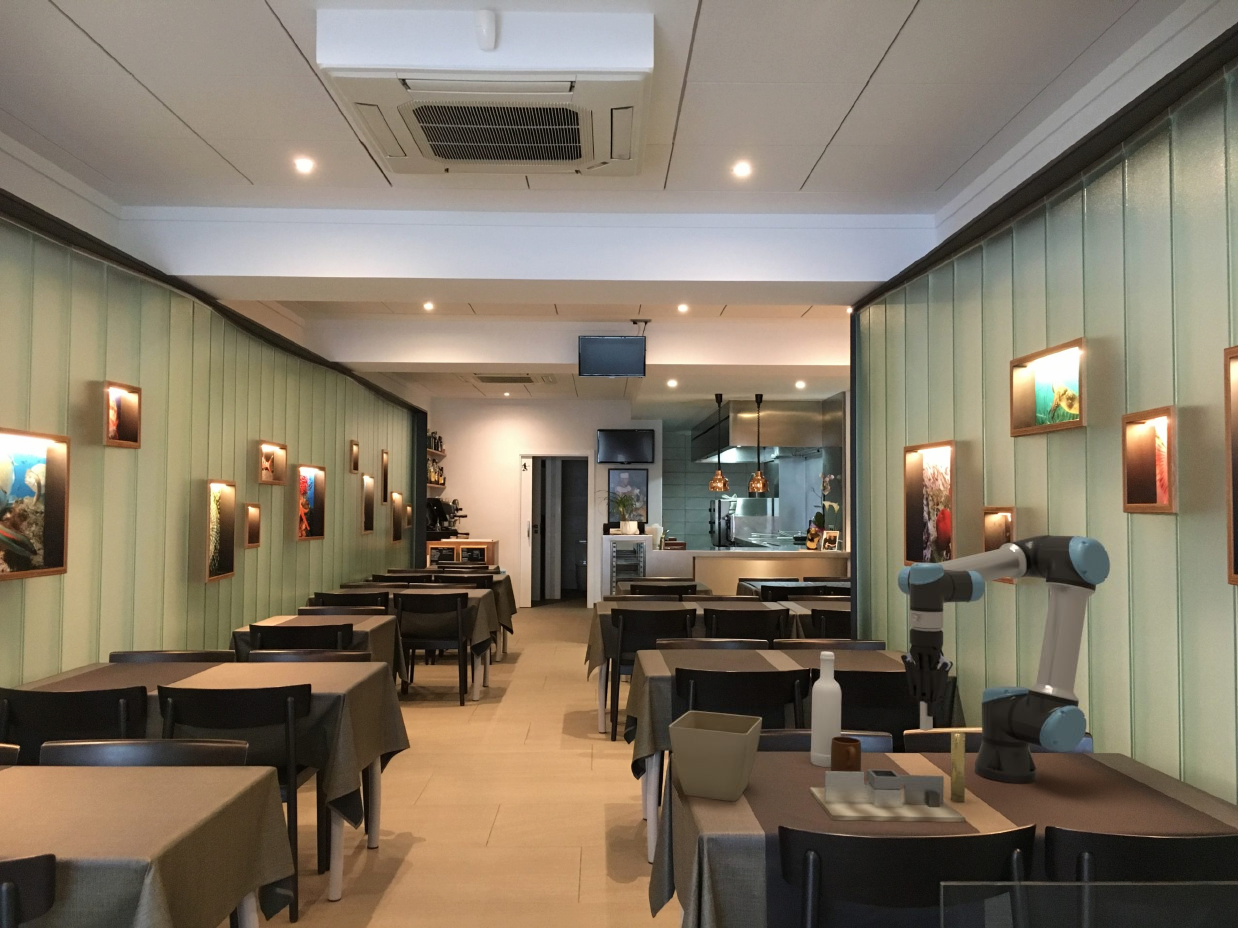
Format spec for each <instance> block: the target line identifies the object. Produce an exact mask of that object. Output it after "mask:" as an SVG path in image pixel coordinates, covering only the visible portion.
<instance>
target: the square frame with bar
mask: <svg viewBox="0 0 1238 928" xmlns="http://www.w3.org/2000/svg"><path fill="white" fill-rule="evenodd" d="M944 778H945V777H944V775H927V774H926V775H920V774H919V775H917V774H915V775H914V774H898V773H897V772H896V771H895V770H894V769H870V768H868V769H866V782H867V781H868V782H869V783H870V784H871V785H872V786H873V787H874V788H886V789H902V786H903V789H904V803H924V804H927V792H937V793H939V794H940V798H939V804H944V800H945V799H944V798H945V797H944V795H945V794H944V789H945V788H944V787H945V786H944V784H945V779H944Z"/></svg>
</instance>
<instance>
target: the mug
mask: <svg viewBox="0 0 1238 928" xmlns="http://www.w3.org/2000/svg"><path fill="white" fill-rule="evenodd" d="M830 771H846V772H862V742H861V740H860V739H858V738H855V737H851V736H841V737H834V738H832V743H831V767H830Z"/></svg>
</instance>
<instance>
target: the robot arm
mask: <svg viewBox="0 0 1238 928" xmlns="http://www.w3.org/2000/svg"><path fill="white" fill-rule="evenodd" d="M1105 548H1106V547H1104V545H1103V544H1102V543H1101V542H1100V541H1098V539H1095V538H1092V537H1086V536H1085V537H1084V536H1081V535H1080V536H1079V535H1075V536H1074V535H1073V536H1072V535H1051V534H1045V535H1043V534H1042V535H1036V536H1032V537H1027V538H1022V539H1019V540H1015V541H1011V542H1007V543H1004V544H1001V546H1000V547H999V549H994V550H990V551H985V552H980V553H976V554H972V555H968V556H962V557H959V558H954V559H949V560H945V561H940V562H936V563H934V562H914V563H912V564H911V566H910V565H907V566H904V567H902V569H901V570H900V571H899V573H898V575H897V585H898V588H899V589H900V591H901V592H902V593H903V594H905V595H909V626H910V627H911V628H910V629H909V644H910V648H909V652H908V653H906V654H902V655H901V656H900V659H901V661H902V663H903V665H904V671H905V675H906V680H907V685H908V691H909V695H910V697H913V698H914V699H916V701H917V714H918V715H919V730H920V731H925V732H927V731H928V732H929V731H932V730H933V724H934V723H933V722H934V721H933V718H934V717H935V716H936V703H937V702H940V701H943V700H944V696H945V691H946V688H947V683H948V677H949V672H950V670H951V669H952V667H953V666H954V663H953V661H948V659H946V658H945V657H944V656H945V655H944V651H943V646H944V631H943V630H942V629H943V628H944V604H946V603H970V602H976V601H977V602H978V600H979V601H980V599H982V597H983V596H984V594H985V588H986V586H985V583H986V582H987V583H988V582H990V581H994V580H1000V579H1002V578H1010V579H1014V580H1015V579H1020V578H1039V579H1045V582H1044V583H1045V585H1046V587H1047V588H1048V589H1049V591H1050V594H1049V599H1048V606H1047V612H1046V619H1045V626H1044V632H1043V638H1042V643H1041V644H1042V645H1041V651H1040V657H1039V663H1038V664H1039V665H1038V670H1037V676H1036V681H1035V682H1036V683H1035V684H1034V685H1031V686H1030V687H1029V688H1028V687H1024V686H990V687H986V688H985V689H984V690H983V692H982V699H981V700H982V701H981V744H980V748H979V749H978V752H977V756H976V758H975V762H974V772H975V774H977V775H978V776H980V777H983V778H986V779H989V780H993V781H996V782H997V781H998V782H1001V783H1003V782H1004V783H1012V784H1013V783H1015V784H1025V783H1026V784H1027V783H1029V784H1030V783H1033V782H1036V781H1037V774H1038V773H1037V772H1038V771H1037V767H1036V764H1035V761H1034V758H1033V756H1032V752H1031V748H1030V744H1031V745H1035V746H1039V747H1042V748H1044V749H1047V750H1050V751H1056V752H1061V753H1063V752H1069V751H1071V750H1074V749H1075V748H1076V746H1079V745H1080V743H1081V742H1082V740H1083V739H1084V737H1085V734H1086V731H1087V719H1086V717H1085V716H1086V715H1085V713H1084V712H1083V710H1082V709H1080V707H1079V703H1080V700H1079V699H1080V698H1079V697H1077V695H1076V693H1075V692H1074V691H1075V690H1074V689H1075V682H1076V675H1077V670H1078V663H1079V659H1080V658H1079V656H1080V650H1081V644H1082V636H1083V629H1084V623H1085V617H1086V610H1087V602H1088V599H1089V597H1091V596H1092V595H1094V594H1096V588H1097V585H1100V584H1102V583H1104V582H1105V581H1106V579H1108V576H1109V574H1110V570H1111V569H1110V568H1111V562H1110V557H1109V554H1108V552H1107V550H1106V549H1105Z"/></svg>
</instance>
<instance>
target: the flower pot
mask: <svg viewBox="0 0 1238 928" xmlns="http://www.w3.org/2000/svg"><path fill="white" fill-rule="evenodd" d="M762 722H763V718H762V717H761V716H751V715H740V714H731V713H720V712H708V711H699V710H688V711H687V712H685V713H684V714H682V715H681V716H680V717H679V718H677V719H676V720H675V721H673V722H672V723H670V724H669V725H668V731H669V738H670V745H671V751H672V755H673V759H674V764H675V767H676V772H677V775H678V779H679V781H680V785H681V788H682V790H683V793H684V795H685V796H691V797H699V798H707V799H714V800H720V801H721V800H722V801H731V802H735V801H738V799H739V798H740V796H741V795H742V794H743V792H744V791H745V790H746V789H747V788H748V784H749V781H750V778H751V775H752V772H753V767H754V764H755V759H756V756H757V752H758V747H759V742H760V738H761V737H760V736H761V732H762V724H763V723H762Z"/></svg>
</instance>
